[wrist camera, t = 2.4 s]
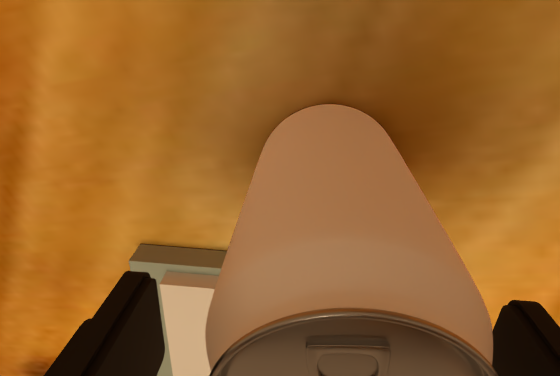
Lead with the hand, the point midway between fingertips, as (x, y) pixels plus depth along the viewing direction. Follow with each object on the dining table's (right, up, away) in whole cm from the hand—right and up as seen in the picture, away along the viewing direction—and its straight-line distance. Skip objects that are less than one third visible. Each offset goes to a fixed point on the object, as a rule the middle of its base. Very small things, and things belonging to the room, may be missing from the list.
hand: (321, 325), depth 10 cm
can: (+1, +5, +8) cm, 9 cm away
